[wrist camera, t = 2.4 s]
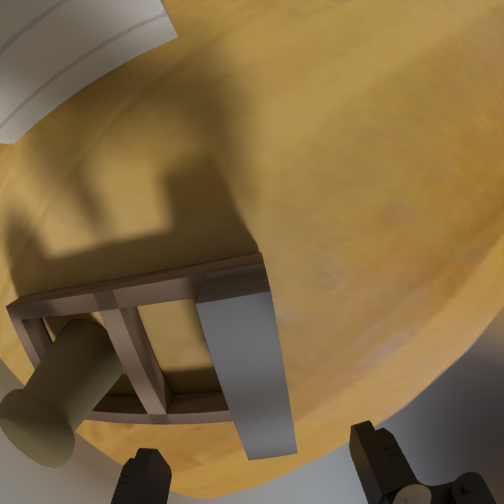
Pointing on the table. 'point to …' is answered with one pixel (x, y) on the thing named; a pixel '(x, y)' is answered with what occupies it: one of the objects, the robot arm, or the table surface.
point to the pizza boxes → (67, 51)
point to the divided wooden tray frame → (217, 337)
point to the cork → (61, 393)
